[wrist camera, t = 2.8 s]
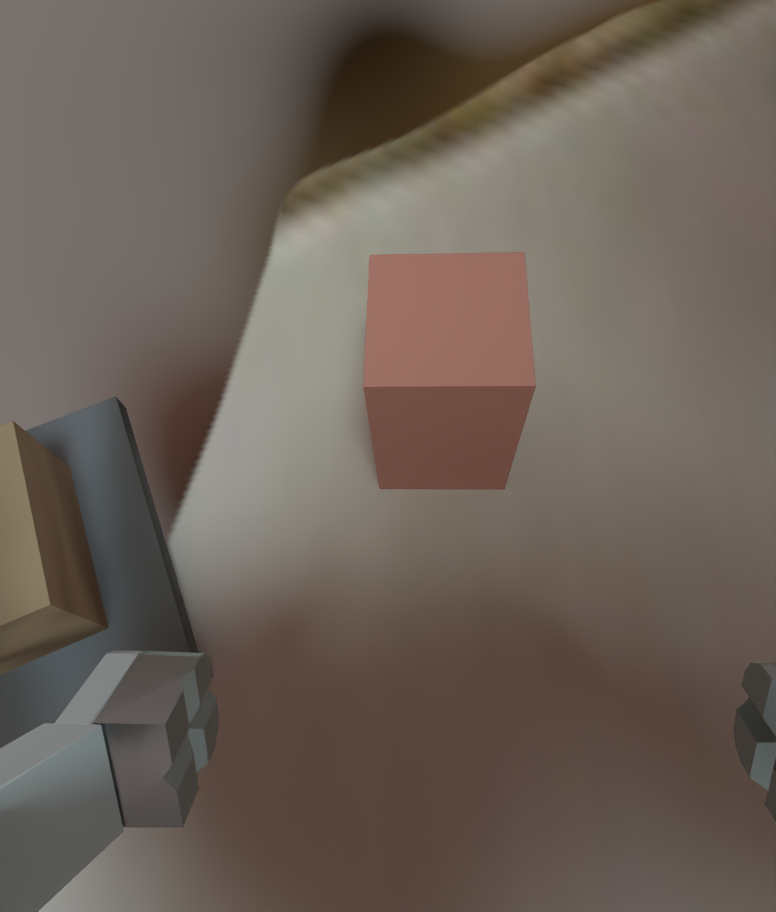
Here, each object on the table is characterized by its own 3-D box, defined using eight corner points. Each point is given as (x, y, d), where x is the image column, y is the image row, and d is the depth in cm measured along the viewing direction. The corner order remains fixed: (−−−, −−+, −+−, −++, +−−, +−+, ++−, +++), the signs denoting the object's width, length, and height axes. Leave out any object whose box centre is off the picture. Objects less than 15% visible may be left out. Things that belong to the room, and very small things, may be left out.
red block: (498, 382, 28) (524, 252, 21) (503, 489, 26) (535, 385, 19) (383, 383, 28) (369, 254, 21) (380, 488, 26) (363, 386, 19)
